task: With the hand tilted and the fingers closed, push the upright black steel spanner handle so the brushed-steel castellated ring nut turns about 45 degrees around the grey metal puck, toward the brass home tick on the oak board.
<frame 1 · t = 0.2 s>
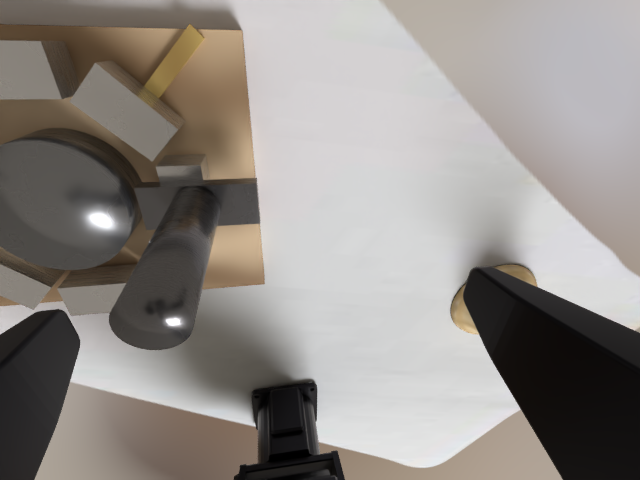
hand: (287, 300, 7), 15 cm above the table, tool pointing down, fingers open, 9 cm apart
hand bell: (490, 298, 31), on the table
grey metal puck: (87, 183, 20), resting on oak board
oak board: (96, 183, 20), on the table
ring nut: (51, 241, 14), point 7 cm above the table, hinge at 0.0°, touching oak board
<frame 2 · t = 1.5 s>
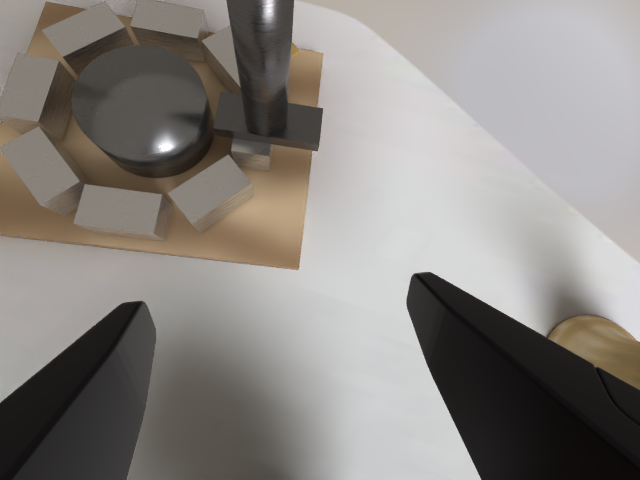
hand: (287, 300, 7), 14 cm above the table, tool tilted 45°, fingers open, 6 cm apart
hand bell: (592, 376, 22), on the table
grey metal puck: (164, 136, 22), resting on oak board
oak board: (171, 137, 22), on the table
ring nut: (146, 63, 15), point 7 cm above the table, hinge at 0.0°, touching oak board
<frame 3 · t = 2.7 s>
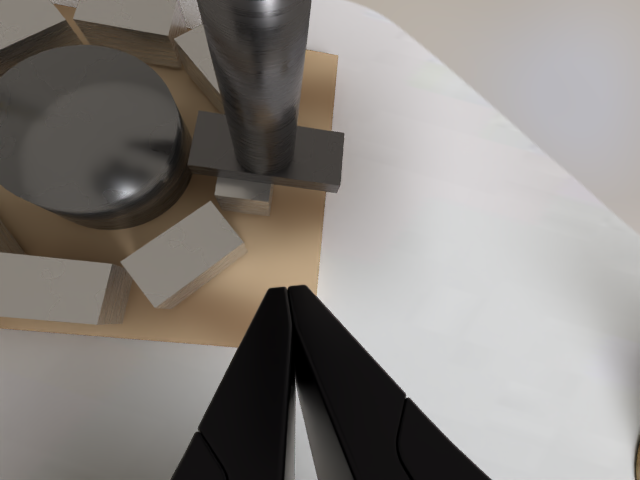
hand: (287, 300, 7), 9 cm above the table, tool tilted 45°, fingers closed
grey metal puck: (126, 167, 16), resting on oak board
oak board: (137, 169, 16), on the table
ring nut: (74, 73, 10), point 7 cm above the table, hinge at 0.0°, touching oak board
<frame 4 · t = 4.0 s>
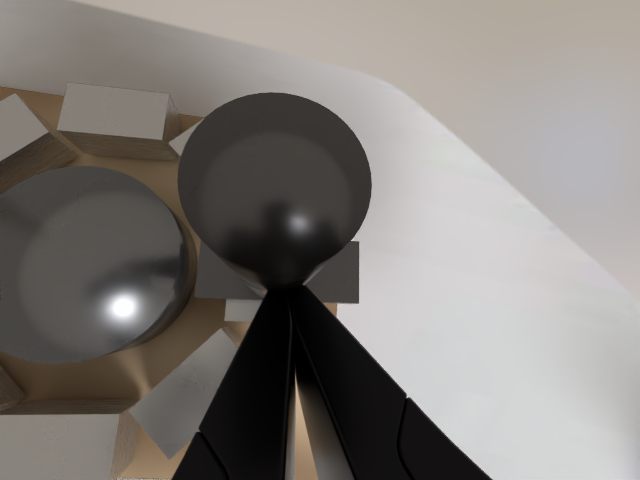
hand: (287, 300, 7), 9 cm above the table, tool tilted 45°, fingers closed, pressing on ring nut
grey metal puck: (125, 272, 15), resting on oak board
oak board: (136, 273, 15), on the table
ring nut: (67, 243, 9), point 7 cm above the table, hinge at 3.2°, touching gripper, oak board
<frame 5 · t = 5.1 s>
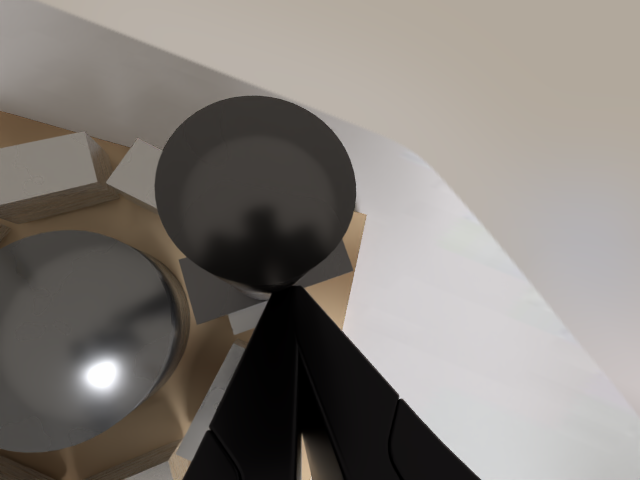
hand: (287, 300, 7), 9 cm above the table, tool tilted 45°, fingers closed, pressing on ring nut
grey metal puck: (113, 326, 15), resting on oak board
oak board: (124, 329, 15), on the table
ring nut: (47, 323, 8), point 7 cm above the table, hinge at 32.9°, touching gripper
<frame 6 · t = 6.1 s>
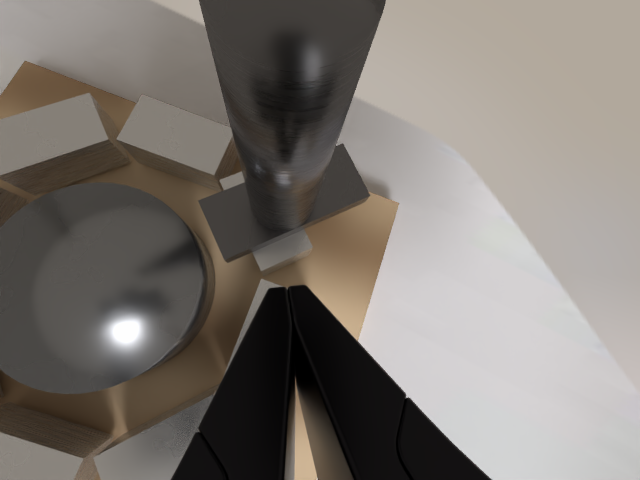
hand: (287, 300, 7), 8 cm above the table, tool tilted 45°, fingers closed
grey metal puck: (139, 289, 15), resting on oak board
oak board: (150, 292, 15), on the table
ring nut: (84, 246, 8), point 7 cm above the table, hinge at 45.3°, touching oak board
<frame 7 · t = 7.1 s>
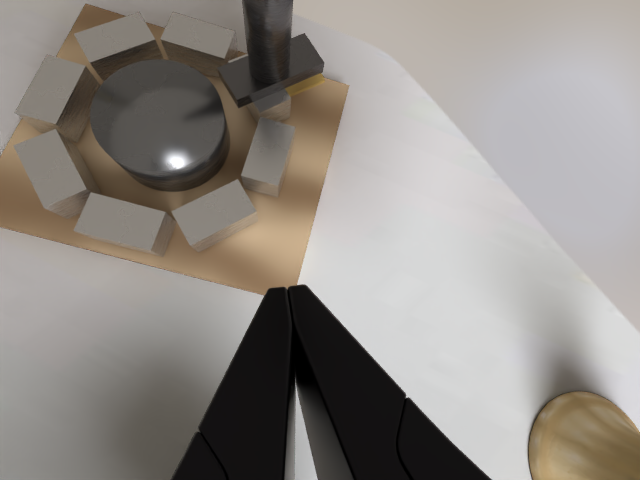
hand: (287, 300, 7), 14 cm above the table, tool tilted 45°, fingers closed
hand bell: (584, 459, 21), on the table
grey metal puck: (179, 148, 22), resting on oak board
oak board: (186, 150, 22), on the table
ring nut: (165, 65, 16), point 7 cm above the table, hinge at 45.3°, touching oak board
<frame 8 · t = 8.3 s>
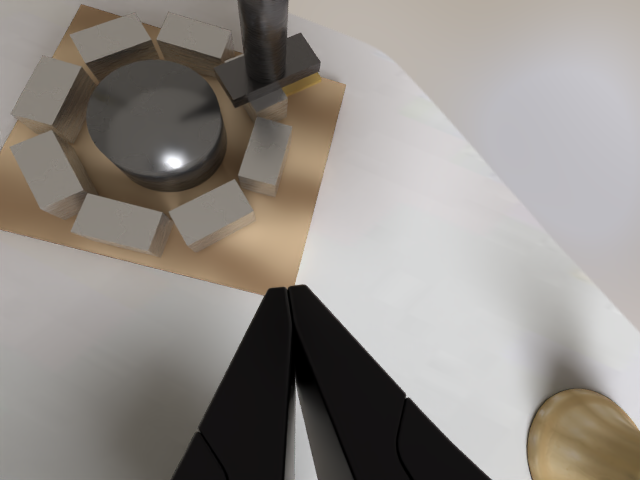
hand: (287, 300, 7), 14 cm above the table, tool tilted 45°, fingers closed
hand bell: (582, 456, 21), on the table
grey metal puck: (176, 148, 22), resting on oak board
oak board: (183, 150, 22), on the table
ring nut: (161, 65, 16), point 7 cm above the table, hinge at 45.3°, touching oak board
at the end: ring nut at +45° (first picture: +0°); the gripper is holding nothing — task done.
